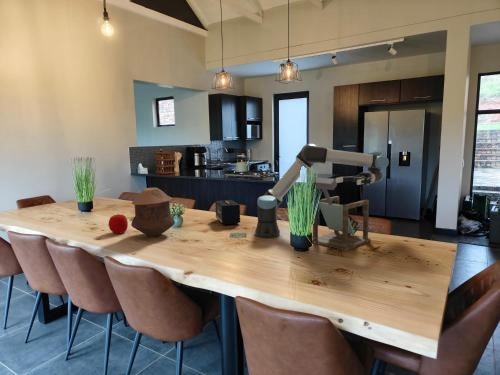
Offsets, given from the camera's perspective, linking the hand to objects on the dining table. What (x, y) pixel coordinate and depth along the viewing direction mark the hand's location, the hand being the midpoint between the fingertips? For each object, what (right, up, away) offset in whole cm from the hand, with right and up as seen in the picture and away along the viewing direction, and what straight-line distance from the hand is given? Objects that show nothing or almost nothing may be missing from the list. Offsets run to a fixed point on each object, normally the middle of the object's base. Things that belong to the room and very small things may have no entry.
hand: (346, 181), depth 191 cm
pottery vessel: (-114, -34, +22) cm, 121 cm away
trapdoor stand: (-3, -34, +1) cm, 34 cm away
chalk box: (-4, -20, +6) cm, 21 cm away
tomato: (-139, -33, +30) cm, 146 cm away
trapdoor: (-11, -15, -9) cm, 21 cm away
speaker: (-70, -29, +53) cm, 93 cm away
